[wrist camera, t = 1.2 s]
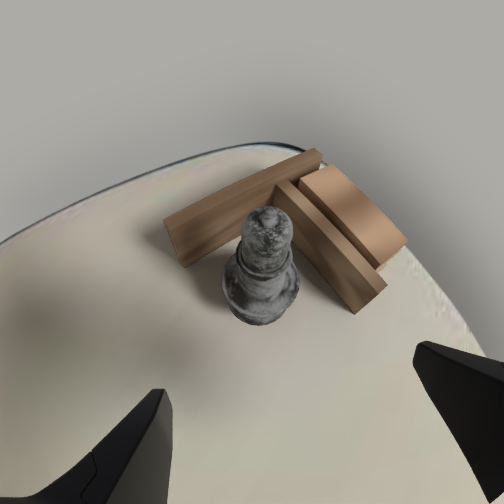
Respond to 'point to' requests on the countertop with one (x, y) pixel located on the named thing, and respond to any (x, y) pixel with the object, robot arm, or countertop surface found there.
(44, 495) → the robot arm
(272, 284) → the grey rounded upright piece
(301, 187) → the teak offcut
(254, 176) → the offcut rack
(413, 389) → the countertop surface
